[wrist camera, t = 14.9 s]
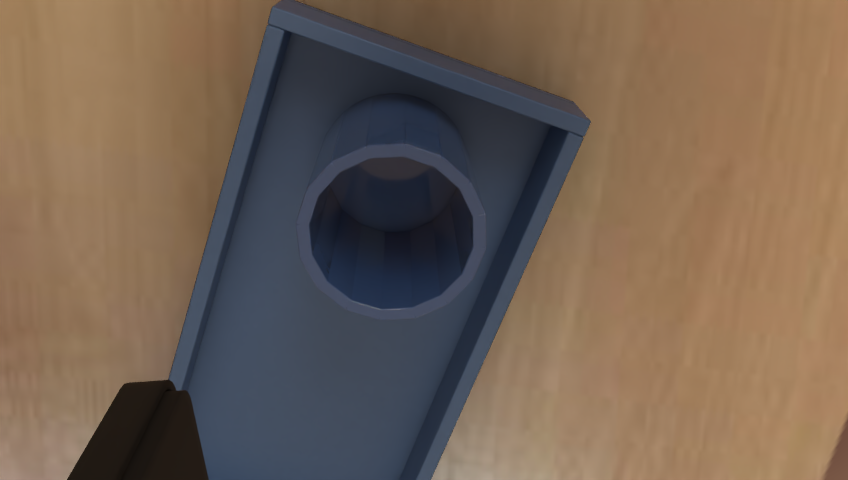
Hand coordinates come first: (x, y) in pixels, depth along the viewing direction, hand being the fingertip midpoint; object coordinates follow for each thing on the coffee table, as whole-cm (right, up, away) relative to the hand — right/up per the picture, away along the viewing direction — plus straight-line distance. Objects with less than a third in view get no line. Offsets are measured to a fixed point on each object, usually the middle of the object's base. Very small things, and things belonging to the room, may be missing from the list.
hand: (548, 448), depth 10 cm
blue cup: (-3, +6, +20) cm, 20 cm away
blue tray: (-5, 0, +22) cm, 23 cm away
